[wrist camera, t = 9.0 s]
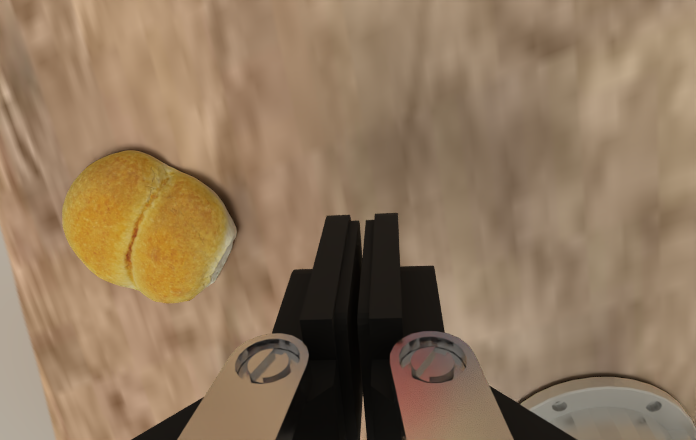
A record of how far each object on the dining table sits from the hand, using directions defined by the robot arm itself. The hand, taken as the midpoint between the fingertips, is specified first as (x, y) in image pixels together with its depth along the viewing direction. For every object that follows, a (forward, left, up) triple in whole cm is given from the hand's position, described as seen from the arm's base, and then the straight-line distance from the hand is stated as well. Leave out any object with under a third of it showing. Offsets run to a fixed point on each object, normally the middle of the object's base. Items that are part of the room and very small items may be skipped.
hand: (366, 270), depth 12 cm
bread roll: (+13, +5, -15) cm, 20 cm away
